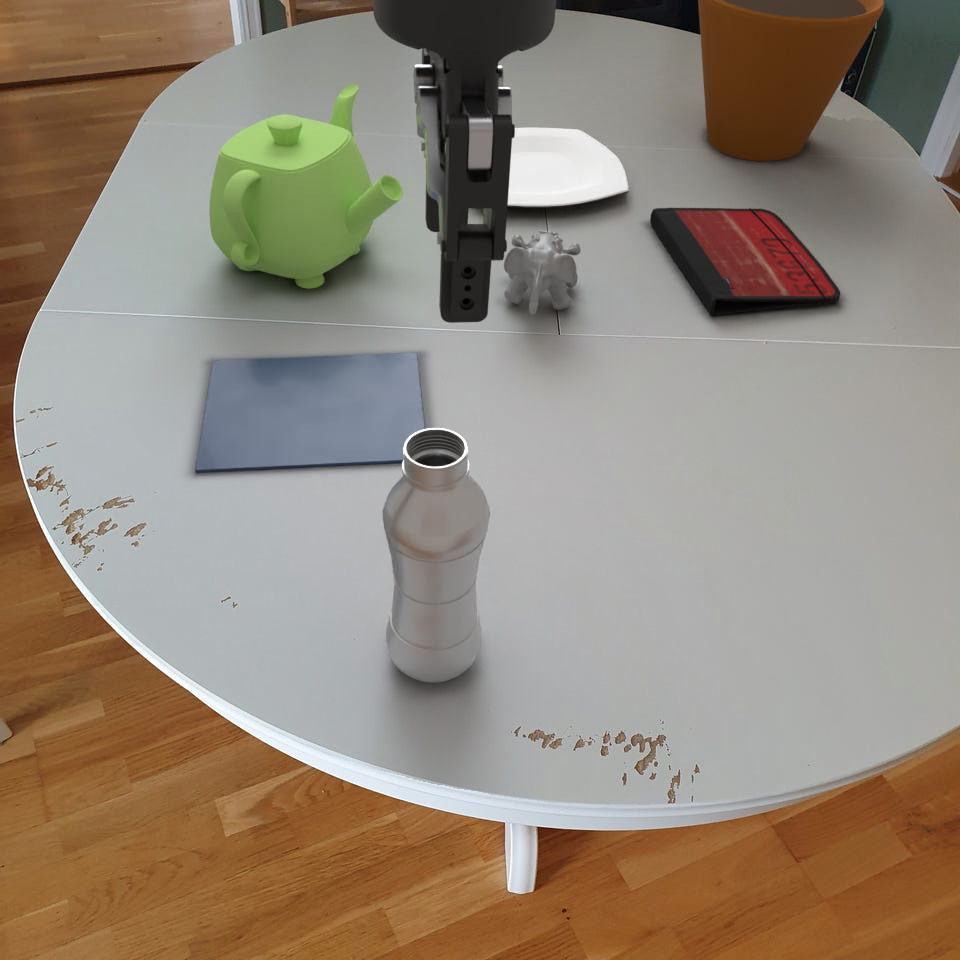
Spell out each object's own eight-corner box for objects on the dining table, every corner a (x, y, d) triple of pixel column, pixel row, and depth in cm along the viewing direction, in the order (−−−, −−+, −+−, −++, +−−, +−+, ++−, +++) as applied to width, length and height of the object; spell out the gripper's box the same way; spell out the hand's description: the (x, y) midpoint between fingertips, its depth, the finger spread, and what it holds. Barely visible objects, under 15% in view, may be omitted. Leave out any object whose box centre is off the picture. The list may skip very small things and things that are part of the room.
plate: (587, 135, 135) (588, 121, 134) (648, 210, 119) (651, 195, 117) (430, 147, 130) (430, 133, 129) (472, 227, 114) (473, 212, 112)
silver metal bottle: (382, 627, 69) (370, 417, 56) (472, 616, 70) (482, 407, 57) (392, 701, 65) (382, 492, 51) (488, 688, 66) (503, 480, 52)
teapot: (353, 336, 96) (343, 191, 86) (182, 283, 103) (152, 142, 92) (459, 230, 113) (462, 98, 102) (306, 191, 119) (294, 62, 108)
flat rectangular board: (195, 472, 81) (195, 470, 80) (213, 362, 92) (212, 360, 92) (427, 461, 83) (427, 458, 83) (416, 355, 94) (416, 352, 94)
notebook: (714, 298, 100) (651, 206, 114) (709, 316, 101) (647, 223, 116) (850, 293, 103) (772, 204, 118) (843, 311, 104) (766, 221, 119)
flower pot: (799, 192, 124) (844, 32, 110) (642, 142, 134) (666, -10, 120) (864, 136, 138) (911, -12, 124) (717, 95, 148) (746, -47, 134)
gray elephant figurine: (570, 275, 106) (577, 213, 101) (597, 335, 98) (606, 270, 93) (490, 280, 105) (493, 217, 100) (510, 341, 97) (514, 276, 91)
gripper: (365, -142, 41) (373, 205, 52) (378, -53, 31) (385, 356, 42) (535, -135, 42) (508, 204, 53) (603, -47, 31) (552, 352, 42)
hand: (454, 271), depth 47 cm, fingers open, 8 cm apart
